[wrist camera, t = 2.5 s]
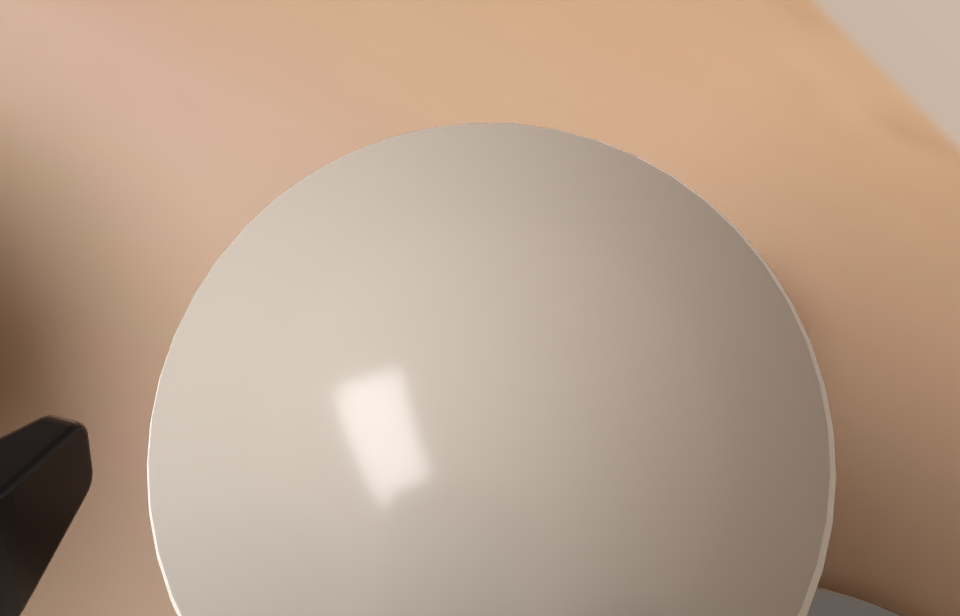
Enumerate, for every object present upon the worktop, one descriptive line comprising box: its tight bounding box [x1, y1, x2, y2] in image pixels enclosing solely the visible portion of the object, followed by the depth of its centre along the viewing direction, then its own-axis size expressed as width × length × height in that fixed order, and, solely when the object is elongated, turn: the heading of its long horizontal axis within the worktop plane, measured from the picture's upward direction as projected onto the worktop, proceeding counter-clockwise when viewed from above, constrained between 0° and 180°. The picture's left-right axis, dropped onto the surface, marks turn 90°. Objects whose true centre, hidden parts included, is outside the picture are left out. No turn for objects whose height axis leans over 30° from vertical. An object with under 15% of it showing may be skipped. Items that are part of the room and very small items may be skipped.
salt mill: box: [147, 123, 836, 616], centre depth 11 cm, size 4×4×14 cm
